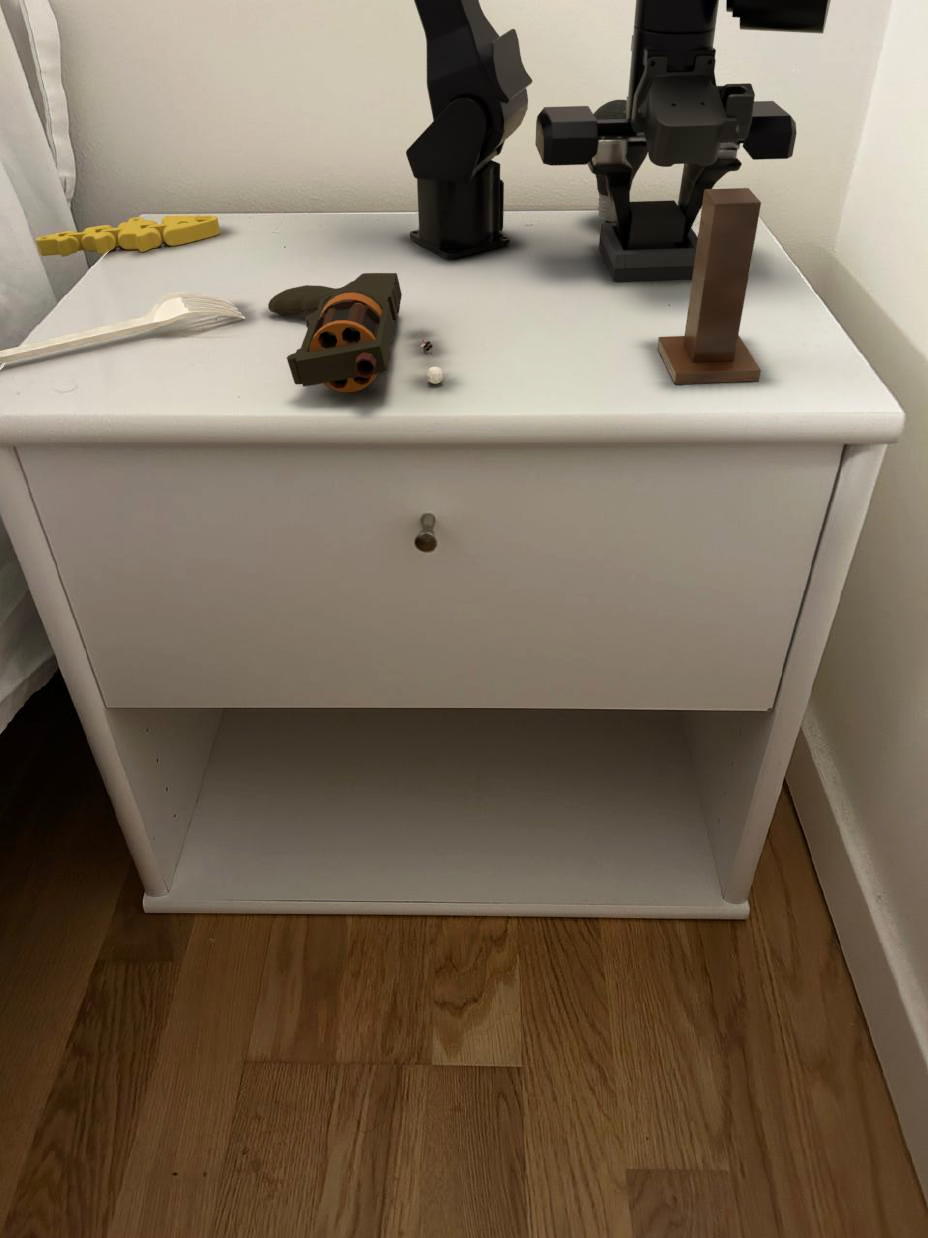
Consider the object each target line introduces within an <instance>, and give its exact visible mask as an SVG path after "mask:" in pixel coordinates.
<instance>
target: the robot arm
mask: <svg viewBox="0 0 928 1238" xmlns="http://www.w3.org/2000/svg"><path fill="white" fill-rule="evenodd" d="M413 2H414V4H415V8H416V10H417V14H418V18H419V20H420V23H421V26H422V29H423V33H424V37H425V40H426V41H425V45H426V89H427V94H428V99H429V104H430V109H431V115H432V120H433V121H432V122H431V123H430V124H429V125H428V127H426V128H425V129H424V130H423V131H422V133H420V135H419V136H418V137H417V138H416V139H415V141H413V143H412V144H411V145H410V146H409V147H408V148H407V149H406V151H405V155H406V158H407V161H408V164H409V167H410V170H411V173H412V176H413V177H414V179H416V187H417V190H416V191H417V212H418V214H417V215H418V229H416V230H412V231H410V232H409V239H410V240H412V241H414V242H415V243H417V244H419V245H421V246H423V247H425V248H427V249H428V250H430V251H432V252H434V253H435V254H437V255H439V256H441V257H442V258H444V259H450V260H451V259H457V258H461V257H464V256H468V255H472V254H477V253H480V252H484V251H485V252H486V251H488V250H492V249H497V248H500V247H503V246H504V247H505V246H509V245H510V244H511V237H510V236H508V235H507V234H504V233H502V231H503V230H504V215H505V214H504V211H505V209H504V208H505V207H504V206H505V203H504V202H505V182H504V180H503V179H501V163H500V162H498V161H496V160H495V161H494V160H493V159H494V158H495V157H497V156H499V155H500V154H501V153H502V150H503V148H504V144H505V143H506V140H507V139H509V138H510V137H511V136H512V135H513V134H514V133H515V132H516V131H517V130H518V129H519V128H520V126H521V125H522V123H523V121H524V119H525V116H526V114H527V112H528V109H529V95H528V89H527V88H528V87H530V86H531V84H533V78H532V77H531V76H530V74H528V72H527V70H526V68H525V66H524V65H525V64H524V63H523V60H522V55H521V47H520V41H519V37H518V34H517V30H516V29H515V28H510V29H509V30H507V31H505V33H503V34H502V35H499V33H498V32H497V31H496V29H495V28H494V27H493V24H491V22H490V21H489V19H488V18H487V17H486V15H485V13H484V11H483V9H482V7H481V3H480V0H413ZM719 3H720V0H635V9H634V11H635V12H634V22H633V31H632V33H633V34H632V35H631V44H630V52H631V54H630V55H631V56H630V69H629V81H628V91H627V92H628V93H627V96H626V100H627V102H626V112H627V114H626V119H607V120H597V119H596V118H595V116H594V115H593V114H594V112H592V110H591V108H590V106H589V105H570V106H569V105H568V106H567V105H566V106H544V107H543V108H542V110H540V112H539V113H538V114H537V116H536V121H535V146H536V149H537V150H536V151H538V155H539V157H540V159H541V162H542V164H544V165H548V166H551V167H554V166H555V167H556V166H586V165H587V166H588V169H589V170H590V173H592V174H593V175H595V176H596V175H602V177H603V180H604V182H605V185H606V188H607V191H608V195H609V199H610V203H611V207H612V211H613V215H614V219H615V224H616V228H617V232H618V236H619V240H620V244H621V246H622V248H623V250H627V249H628V244H629V235H630V202H631V190H630V181H631V175H632V170H633V168H632V167H631V165H630V164H629V162H628V161H627V159H626V153H627V147H634V146H647V147H648V154H647V157H648V159H649V161H650V162H651V163H652V164H653V165H655V166H657V167H661V168H670V167H673V166H674V165H683V168H682V175H681V181H680V189H679V194H678V200H677V205H678V207H679V208H680V209H681V211H682V212H683V214H684V215H685V217H686V218H685V226H684V234H683V241H682V242H676V243H674V245H675V246H676V248H681V247H682V246H683V243H684V241H685V239H686V237H687V235H688V233H689V231H690V229H691V228H692V227H693V226H694V224H695V222H696V219H697V217H698V215H699V213H700V212H701V210H702V203H703V196H704V190H705V189H714V187H715V185H716V184H717V182H719V180H721V179H722V178H723V177H724V176H726V174H728V173H731V172H737V171H739V170H740V168H742V165H743V164H742V161H741V160H740V159H739V158H738V157H737V156H738V150H740V147H741V144H742V148H743V149H744V150H745V152H746V154H748V156H749V157H750V158H751V159H752V160H753V161H755V160H757V161H759V160H762V161H763V160H787V159H790V158H792V157H793V154H794V150H795V144H796V139H797V134H798V133H797V123H796V120H795V119H794V118H793V117H792V115H791V114H790V113H789V112H787V111H786V110H785V109H783V108H782V107H781V106H780V105H779V104H778V103H776V102H775V101H774V100H759V101H757V100H756V101H755V97H756V94H755V90H754V88H753V85H752V83H750V82H749V83H726V84H724V85H718V84H717V79H716V73H715V69H716V53H717V49H716V48H715V47H714V42H715V34H716V27H717V18H718V11H719ZM830 5H831V0H725V9H726V13H732V14H731V17H732V18H736V19H737V18H738V19H739V29H740V30H742V31H743V30H744V31H760V32H779V33H780V32H782V33H801V34H821V35H822V34H824V33H825V29H826V28H825V27H826V24H827V19H828V14H829V11H830ZM637 132H644V134H643V133H641V134H637Z"/></svg>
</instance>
